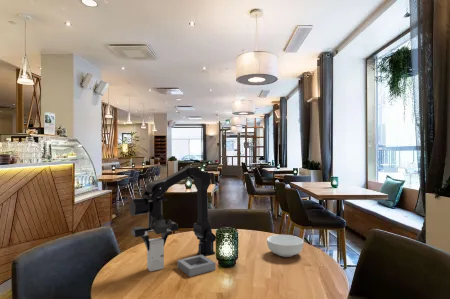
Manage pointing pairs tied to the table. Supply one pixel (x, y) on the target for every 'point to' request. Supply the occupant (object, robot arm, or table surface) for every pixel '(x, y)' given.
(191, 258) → the ceramic holder
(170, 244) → the table surface
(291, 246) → the cereal bowl
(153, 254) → the skincare box
